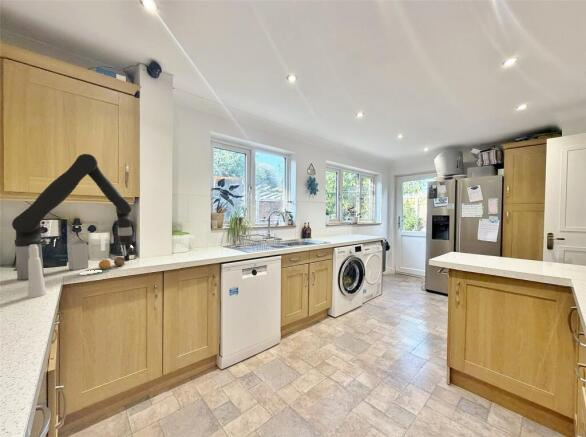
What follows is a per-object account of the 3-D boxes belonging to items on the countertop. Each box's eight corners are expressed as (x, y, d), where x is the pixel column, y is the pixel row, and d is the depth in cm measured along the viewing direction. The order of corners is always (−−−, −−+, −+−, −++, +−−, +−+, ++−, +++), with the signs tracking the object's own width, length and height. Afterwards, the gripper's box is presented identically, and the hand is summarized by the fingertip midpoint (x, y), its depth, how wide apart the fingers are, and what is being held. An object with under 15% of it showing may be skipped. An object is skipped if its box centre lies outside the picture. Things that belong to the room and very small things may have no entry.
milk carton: (83, 266, 154) (81, 235, 152) (88, 267, 150) (86, 236, 148) (68, 268, 148) (66, 237, 146) (73, 270, 144) (71, 238, 142)
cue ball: (127, 257, 158) (123, 266, 157) (117, 255, 156) (113, 264, 155) (124, 258, 153) (121, 267, 152) (114, 256, 151) (111, 265, 150)
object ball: (106, 272, 147) (97, 269, 142) (103, 267, 150) (94, 263, 145) (114, 265, 148) (105, 261, 144) (110, 260, 151) (102, 256, 147)
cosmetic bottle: (51, 292, 111) (47, 243, 109) (37, 297, 105) (33, 246, 103) (37, 292, 111) (32, 243, 109) (22, 297, 105) (18, 246, 103)
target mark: (78, 277, 132) (78, 276, 132) (78, 271, 143) (78, 270, 143) (111, 272, 141) (111, 271, 141) (109, 266, 152) (109, 266, 152)
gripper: (111, 234, 157) (113, 261, 158) (127, 235, 153) (128, 263, 154) (123, 233, 164) (124, 258, 165) (138, 234, 160) (139, 260, 161)
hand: (126, 261), depth 160 cm, fingers closed
